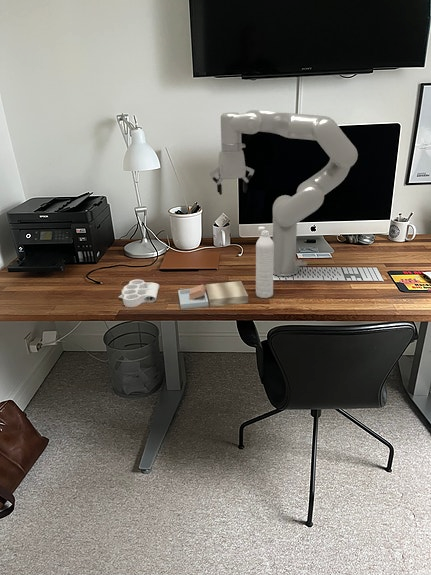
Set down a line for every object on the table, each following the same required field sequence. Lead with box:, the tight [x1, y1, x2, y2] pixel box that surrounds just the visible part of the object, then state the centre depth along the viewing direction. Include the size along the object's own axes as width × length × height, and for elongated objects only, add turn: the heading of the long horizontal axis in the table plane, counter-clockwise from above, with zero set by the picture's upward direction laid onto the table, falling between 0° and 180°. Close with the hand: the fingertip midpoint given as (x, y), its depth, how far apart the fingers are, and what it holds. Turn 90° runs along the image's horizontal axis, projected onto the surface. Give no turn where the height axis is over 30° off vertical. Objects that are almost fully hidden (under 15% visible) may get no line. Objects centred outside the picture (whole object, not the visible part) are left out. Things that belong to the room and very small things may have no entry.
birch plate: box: [204, 280, 249, 308], centre depth 168 cm, size 14×13×3 cm
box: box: [177, 288, 210, 310], centre depth 167 cm, size 10×12×2 cm
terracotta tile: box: [189, 283, 206, 300], centre depth 168 cm, size 5×5×2 cm
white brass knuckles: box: [118, 278, 160, 308], centre depth 172 cm, size 3×18×15 cm
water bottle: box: [255, 226, 274, 299], centre depth 165 cm, size 9×6×25 cm
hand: (232, 193), depth 176 cm, fingers open, 9 cm apart
